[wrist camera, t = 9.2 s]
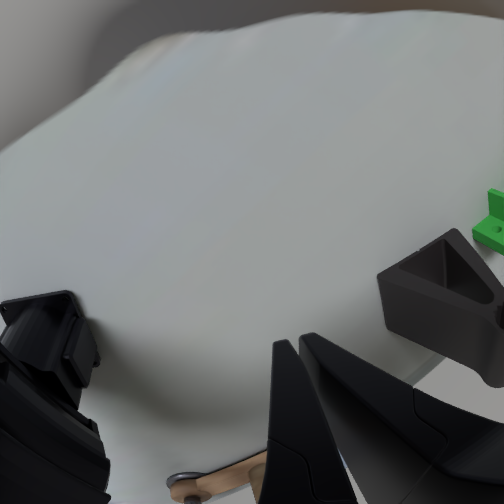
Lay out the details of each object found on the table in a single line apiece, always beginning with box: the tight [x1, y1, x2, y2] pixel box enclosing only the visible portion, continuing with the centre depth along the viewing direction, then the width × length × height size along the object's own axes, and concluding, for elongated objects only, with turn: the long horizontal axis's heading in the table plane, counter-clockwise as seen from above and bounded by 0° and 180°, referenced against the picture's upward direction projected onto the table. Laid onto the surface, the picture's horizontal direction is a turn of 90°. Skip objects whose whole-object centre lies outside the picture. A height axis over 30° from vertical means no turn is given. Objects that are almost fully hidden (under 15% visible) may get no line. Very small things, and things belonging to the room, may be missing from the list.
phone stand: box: [377, 228, 504, 388], centre depth 20 cm, size 9×6×12 cm, turn 113°
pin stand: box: [166, 472, 207, 504], centre depth 29 cm, size 6×6×5 cm
